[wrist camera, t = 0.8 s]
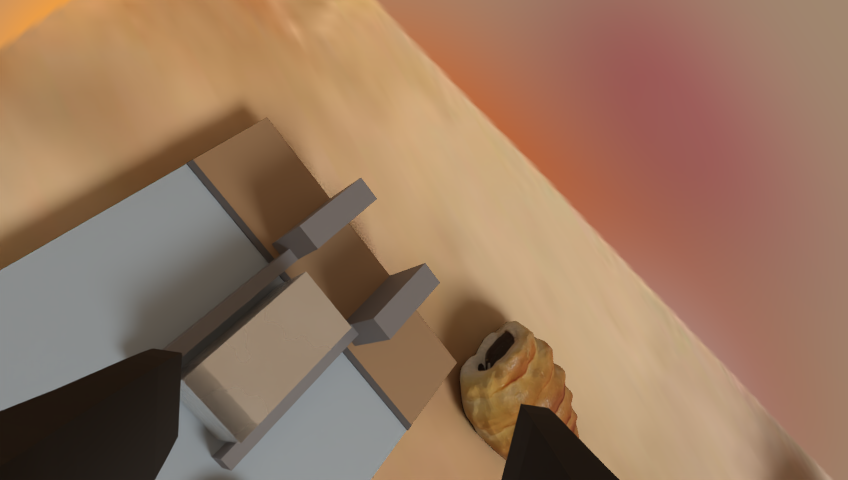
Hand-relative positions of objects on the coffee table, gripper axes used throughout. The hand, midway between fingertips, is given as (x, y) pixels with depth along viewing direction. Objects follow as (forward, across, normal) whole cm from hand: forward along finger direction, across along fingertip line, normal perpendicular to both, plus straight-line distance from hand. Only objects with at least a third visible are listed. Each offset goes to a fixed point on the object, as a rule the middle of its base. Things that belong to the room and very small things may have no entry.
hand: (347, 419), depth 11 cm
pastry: (+19, -8, +10) cm, 23 cm away
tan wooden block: (+10, +5, +5) cm, 12 cm away
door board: (+11, +6, +6) cm, 14 cm away
